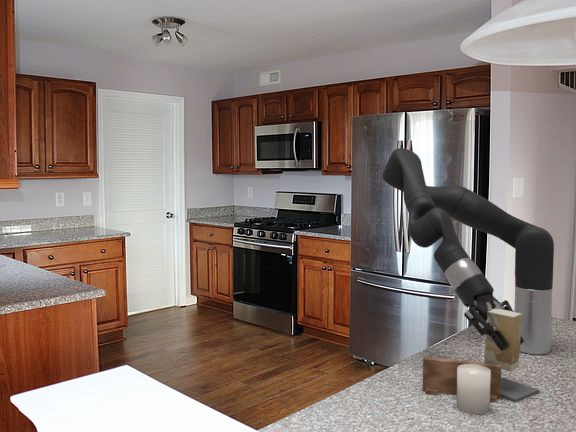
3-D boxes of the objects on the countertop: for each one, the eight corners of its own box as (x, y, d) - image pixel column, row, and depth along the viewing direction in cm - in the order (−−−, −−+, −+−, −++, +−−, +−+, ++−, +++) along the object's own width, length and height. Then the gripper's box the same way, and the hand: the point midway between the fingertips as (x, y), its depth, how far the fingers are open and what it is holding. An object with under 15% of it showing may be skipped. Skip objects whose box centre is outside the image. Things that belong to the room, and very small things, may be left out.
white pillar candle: (469, 398, 115) (470, 361, 114) (496, 409, 110) (497, 370, 109) (449, 406, 111) (450, 368, 111) (476, 417, 106) (477, 377, 106)
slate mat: (502, 379, 126) (502, 377, 126) (539, 392, 118) (539, 389, 118) (478, 388, 121) (478, 385, 120) (515, 402, 113) (515, 399, 113)
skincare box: (483, 364, 120) (485, 310, 119) (492, 360, 124) (494, 307, 123) (512, 372, 116) (514, 316, 115) (520, 367, 119) (523, 312, 118)
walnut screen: (422, 393, 118) (422, 361, 117) (423, 385, 123) (424, 354, 122) (501, 402, 113) (501, 369, 112) (499, 393, 118) (500, 362, 117)
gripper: (477, 287, 133) (520, 349, 124) (438, 294, 125) (481, 361, 116) (497, 269, 128) (544, 332, 119) (458, 275, 120) (504, 343, 111)
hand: (512, 346), depth 117 cm, fingers closed on skincare box, 5 cm apart
